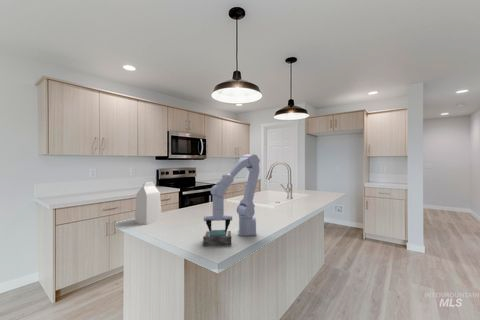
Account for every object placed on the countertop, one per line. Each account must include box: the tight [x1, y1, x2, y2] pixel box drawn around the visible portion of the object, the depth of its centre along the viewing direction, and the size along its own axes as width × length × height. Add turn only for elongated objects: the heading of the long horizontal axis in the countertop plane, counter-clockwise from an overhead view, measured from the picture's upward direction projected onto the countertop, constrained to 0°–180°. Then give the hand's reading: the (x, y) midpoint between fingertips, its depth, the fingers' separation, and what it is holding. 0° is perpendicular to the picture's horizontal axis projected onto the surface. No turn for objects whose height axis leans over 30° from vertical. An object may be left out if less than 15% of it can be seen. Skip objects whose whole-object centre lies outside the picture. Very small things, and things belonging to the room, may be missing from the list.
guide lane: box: [202, 230, 232, 247], centre depth 115 cm, size 13×18×4 cm
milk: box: [134, 181, 163, 226], centre depth 148 cm, size 12×12×26 cm
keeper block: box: [208, 229, 227, 236], centre depth 111 cm, size 8×6×5 cm
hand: (218, 234), depth 115 cm, fingers open, 7 cm apart
